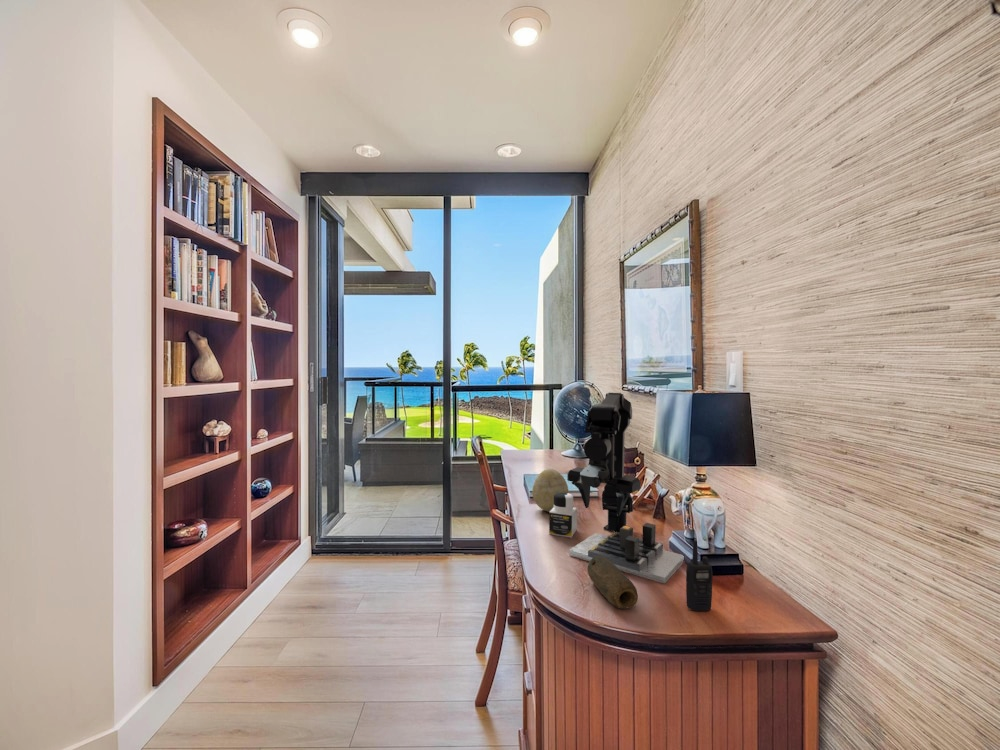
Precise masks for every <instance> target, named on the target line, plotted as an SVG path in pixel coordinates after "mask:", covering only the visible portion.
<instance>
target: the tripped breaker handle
mask: <svg viewBox="0 0 1000 750" xmlns="http://www.w3.org/2000/svg"><path fill="white" fill-rule="evenodd" d="M629 526H630V525H627V526H623V527H622V528H620V547H621V548H625V539H626V538H627V537H628V536H634V527H632V526H630V527H629Z"/></svg>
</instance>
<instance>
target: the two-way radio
mask: <svg viewBox="0 0 1000 750" xmlns="http://www.w3.org/2000/svg"><path fill="white" fill-rule="evenodd" d="M698 552H699V550H698V540H696V539H693V541H692V558H691V559H690V562H688V563H687V565H686V572H685V573H686V574H685V579H686V580H685V581H686V582H685V584H686V585H685V586H686V588H685V595H686V599H685V600H686V607H687V608H688V609H689V610H690V611H694V612H701V611H702V612H703V611H704V612H705V611H707V612H708V611H711V609H712V603H713V601H712V600H713V599H712V598H713V575H714V574H713V567H712V565H711V564H710V563H709V559H708V557H707V556H705V555H704V556H702V560H701V561H700V560H698V559H699V557H698V554H699V553H698Z"/></svg>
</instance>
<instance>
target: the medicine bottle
mask: <svg viewBox="0 0 1000 750" xmlns="http://www.w3.org/2000/svg"><path fill="white" fill-rule="evenodd" d="M548 515H549V516H548V518H549V521H548V526H549V527H548V534H549V535H553V536H560V537H566V538H572V537H573V536H574V534H575V533H576V531H577V530H578V527H577V526H578V508H577V507H574V495H573V494H571V493H569V492H568V493H565V492H560V493H556V494H555V495H554V507H553V508H552V510H551V511H550V512H549V514H548Z"/></svg>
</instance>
